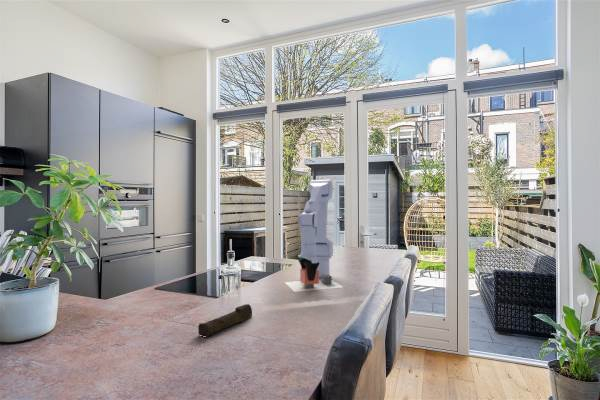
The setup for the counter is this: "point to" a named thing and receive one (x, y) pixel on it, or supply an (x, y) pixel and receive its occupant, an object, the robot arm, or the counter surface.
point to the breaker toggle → (309, 286)
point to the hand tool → (225, 320)
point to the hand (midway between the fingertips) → (308, 278)
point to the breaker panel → (323, 284)
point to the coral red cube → (305, 278)
